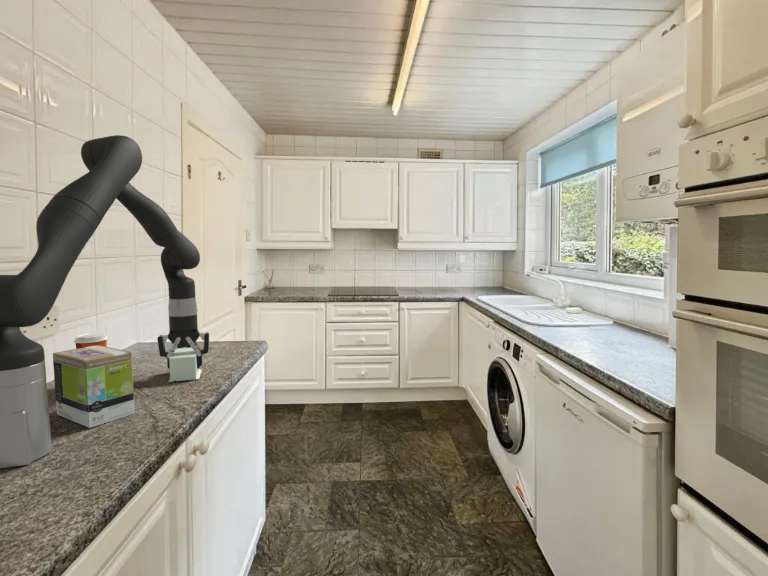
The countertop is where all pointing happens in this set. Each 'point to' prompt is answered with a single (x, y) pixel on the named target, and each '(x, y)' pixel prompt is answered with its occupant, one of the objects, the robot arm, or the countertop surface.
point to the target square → (193, 379)
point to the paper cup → (91, 340)
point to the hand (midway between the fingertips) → (185, 368)
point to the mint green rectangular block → (183, 365)
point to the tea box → (93, 384)
